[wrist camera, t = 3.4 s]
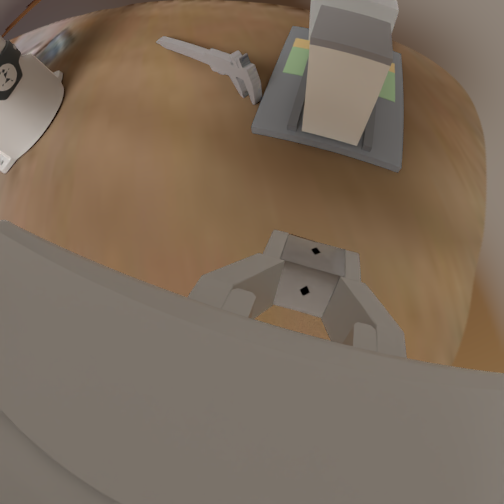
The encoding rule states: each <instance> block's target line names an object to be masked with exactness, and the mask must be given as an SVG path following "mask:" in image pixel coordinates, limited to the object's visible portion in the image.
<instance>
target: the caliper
mask: <svg viewBox="0 0 504 504" xmlns="http://www.w3.org/2000/svg"><path fill="white" fill-rule="evenodd" d="M156 43H157V44H160V45H161V46H163V47H164V48H166V49H169V50H172V51H175V52H178V53H181V54H183V55H186V56H189V57H191V58H194V59H196V60H199V61H201V62H203V63H206V64H208V65H210V67H211V69H212V71H215V72H218V73H219V74H223V75H225V74H226V75H229V77H230V78H231V80H232V82H233V83H234V85H235V87H236V89H237V90H238V92H239V94H240V95H241V96H242V97H243V98H244V97H246V96H247V95H249V96H250V99H251V102H252V104H256V103H258V102H259V101H261V100H262V89H261V81H260V78H259V75H258V72H257V70H256V67H255V65H254V64H252V63H250V60H249V57H248V54H247V53H246V54H244V55H242V54H241V53H240V51H239V50H237V51H236V52H234V53H232V54H228V53H225V52H222V51H219V50H216V49H213V48H211V49H206V48H203V47H200V46H197V45H193V44H190V43H187V42H184V41H180V40H177V39H173V38H169V37H165V36H163V37H161V38H160V39H158V41H156Z"/></svg>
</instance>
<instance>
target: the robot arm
mask: <svg viewBox="0 0 504 504" xmlns="http://www.w3.org/2000/svg"><path fill="white" fill-rule="evenodd" d="M62 77H63V73H62V72H61V71H59V70H58V71H55V72H52V71H51V70H49V69H48V68H47V67H46V66H45V65H44V64H43V63H42V62H41V61H39V60H38V59H37V58H36V57H35V56H34V55H32V54H29V55H24V56H21V52H20V51H19V50H18V49H17V48H16V46H15V45H14V44H12V43H11V42H10V41H9V40H7V41H5V40H4V39H3V38H2V37H1V36H0V171H1V172H3V173H6V172H7V171H8V170H9V169H10V168H11V166H12V165H13V164H14V162H15V161H16V160H17V159H18V158H19V157H20V156H21V155H23V154H24V153H25V152H26V151H27V150H29V149H30V148H31V147H32V146H33V145H34V143H35V142H36V141H37V140H38V139H39V138H40V136H41V135H42V134H43V133H44V131H45V130H46V128H47V127H48V126H49V124H50V123H51V121H52V119H53V118H54V116H55V114H56V112H57V111H58V109H59V106H60V104H61V102H62V99H63V94H64V87H63V85H62V83H61V81H62ZM273 304H274V305H277V306H281V307H285V308H289V309H293V310H297V311H300V312H303V313H306V314H310V315H313V316H316V317H320V318H321V320H322V322H323V324H324V326H325V329H326V331H327V333H328V335H329V337H330V340H331V341H329V340H325V339H321V338H318V337H314V336H310V335H306V334H303V333H299V332H295V331H292V330H288V329H285V328H281V327H278V326H274V325H271V324H268V323H264V322H261V321H258V320H254V318H256V317H257V316H259V315H260V314H261V313H263V312H264V311H266V310H267V309H268V308H270V307H271V306H273ZM0 504H504V373H496V372H488V371H480V370H472V369H466V368H459V367H453V366H447V365H441V364H435V363H429V362H424V361H419V360H413V359H408V358H407V357H406V347H405V338H404V332H403V331H402V330H401V328H400V327H399V326H398V324H397V323H396V322H395V320H394V319H393V318H392V317H391V315H390V314H389V313H388V311H387V310H386V309H385V308H384V306H383V305H382V304H381V303H380V301H379V300H378V299H377V298H376V296H375V295H374V294H373V293H372V291H371V290H370V289H369V288H368V286H367V285H366V284H365V283H362V282H361V271H360V257H359V254H358V253H356V252H352V251H348V250H345V249H341V248H337V247H333V246H330V245H326V244H322V243H318V242H316V241H312V240H309V239H306V238H303V237H299V236H296V235H293V234H288V233H287V232H283V231H279V230H273V232H272V234H271V237H270V239H269V241H268V243H267V246H266V248H265V250H264V252H263V254H260V253H258V254H255V255H252V256H250V257H247V258H245V259H242V260H240V261H237V262H235V263H232V264H230V265H227V266H225V267H222V268H220V269H217V270H215V271H212V272H210V273H207V274H205V275H202V276H201V278H200V279H199V281H198V282H197V284H196V285H195V287H194V288H193V290H192V291H191V293H190V294H189V296H188V297H185V296H182V295H179V294H176V293H174V292H171V291H168V290H165V289H163V288H160V287H157V286H155V285H152V284H149V283H147V282H144V281H141V280H139V279H136V278H134V277H131V276H129V275H126V274H124V273H121V272H119V271H116V270H114V269H111V268H109V267H106V266H104V265H102V264H99V263H97V262H94V261H92V260H90V259H87V258H85V257H83V256H80V255H78V254H76V253H74V252H71V251H69V250H67V249H65V248H62V247H60V246H58V245H56V244H54V243H52V242H49V241H47V240H45V239H43V238H41V237H39V236H37V235H35V234H33V233H31V232H29V231H26V230H24V229H22V228H20V227H18V226H17V225H15V224H13V223H11V222H9V221H7V220H0Z"/></svg>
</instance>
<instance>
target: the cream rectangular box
mask: <svg viewBox="0 0 504 504" xmlns="http://www.w3.org/2000/svg"><path fill="white" fill-rule="evenodd" d="M392 61H393V49H392V35H391V24H390V23H389V22H386V21H383V20H380V19H376V18H373V17H370V16H366V15H363V14H359V13H356V12H352V11H348V10H344V9H339V8H335V7H330V6H325V5H321V7H320V10H319V13H318V16H317V19H316V21H315V24H314V27H313V30H312V33H311V36H310V47H309V60H308V72H307V83H306V94H305V104H304V114H303V123H302V131H303V132H308V133H312V134H316V135H319V136H323V137H327V138H331V139H334V140H338V141H341V142H345V143H348V144H351V145H355V146H357V144H358V142H359V140H360V138H361V136H362V133H363V131H364V129H365V126H366V124H367V122H368V120H369V117H370V115H371V113H372V110H373V108H374V105H375V103H376V101H377V98H378V96H379V94H380V91H381V89H382V86H383V84H384V81H385V79H386V76H387V74H388V71H389V69H390V66H391V64H392Z"/></svg>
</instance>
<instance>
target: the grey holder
mask: <svg viewBox="0 0 504 504" xmlns="http://www.w3.org/2000/svg"><path fill="white" fill-rule="evenodd" d="M321 5H325V6H330V7H335V8H339V9H344V10H348V11H352V12H356V13H359V14H363V15H366V16H370V17H373V18H376V19H380V20H383V21H386V22H389V23H390V24H391V34H392V31H393V28H394V25H395V21H396V18H397V15H398V12H399V9H398V3H397V0H311V7H310V24H309V29H308V28H303V27H296V26H292V29H291V31H290V33H289V35H288V38H287V40H286V42H285V45H284V47H283V49H282V52H281V54H280V56H279V59H278V61H277V63H276V66H275V68H274V71H273V73H272V75H271V78H270V80H269V83H268V85H267V88H266V90H265V93H264V95H263V98H262V100H261V103H260V105H259V108H258V110H257V113H256V116H255V118H254V121H253V123H252V126H251V129H252V133H255V134H260V135H265V136H270V137H275V138H279V139H284V140H288V141H293V142H297V143H301V144H305V145H309V146H313V147H317V148H321V149H324V150H328V151H332V152H335V153H339V154H342V155H345V156H349V157H352V158H355V159H359V160H362V161H365V162H368V163H371V164H374V165H377V166H380V167H383V168H386V169H389V170H392V171H394V172H397V173H398V172H399V170H400V169H401V167H402V151H403V121H404V104H403V75H402V60H401V54H400V53H397V52H394V51H393V61H392V64H391V66H390V69H389V71H388V74H387V76H386V79H385V81H384V84H383V86H382V89H381V91H380V94H379V96H378V98H377V101H376V103H375V105H374V108H373V110H372V113H371V115H370V117H369V120H368V122H367V124H366V126H365V129H364V131H363V133H362V136H361V138H360V140H359V142H358V144H357V146H355V145H351V144H348V143H345V142H341V141H338V140H334V139H331V138H327V137H323V136H319V135H316V134H312V133H308V132H303V131H302V123H303V114H304V104H305V94H306V83H307V72H308V60H309V47H310V36H311V33H312V30H313V27H314V24H315V21H316V19H317V16H318V13H319V10H320V7H321Z"/></svg>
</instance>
